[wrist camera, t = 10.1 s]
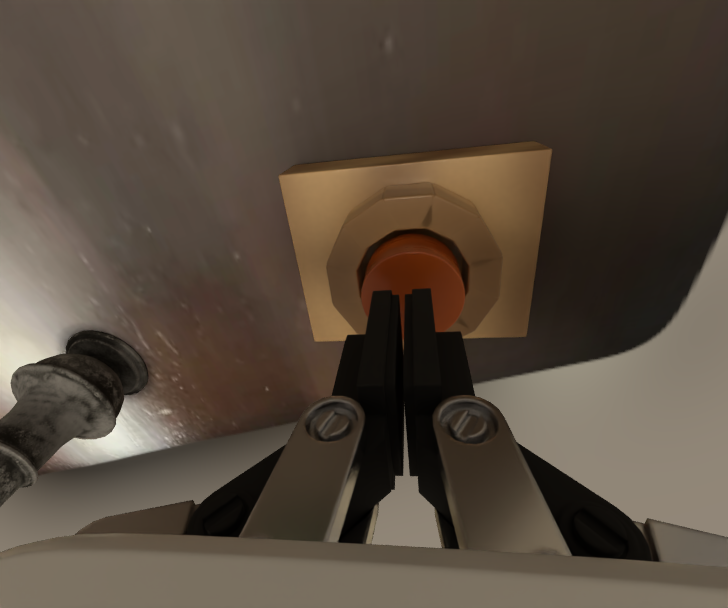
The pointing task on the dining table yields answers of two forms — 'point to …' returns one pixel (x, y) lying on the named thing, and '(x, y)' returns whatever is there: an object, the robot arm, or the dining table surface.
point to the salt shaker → (65, 403)
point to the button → (417, 276)
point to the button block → (421, 229)
